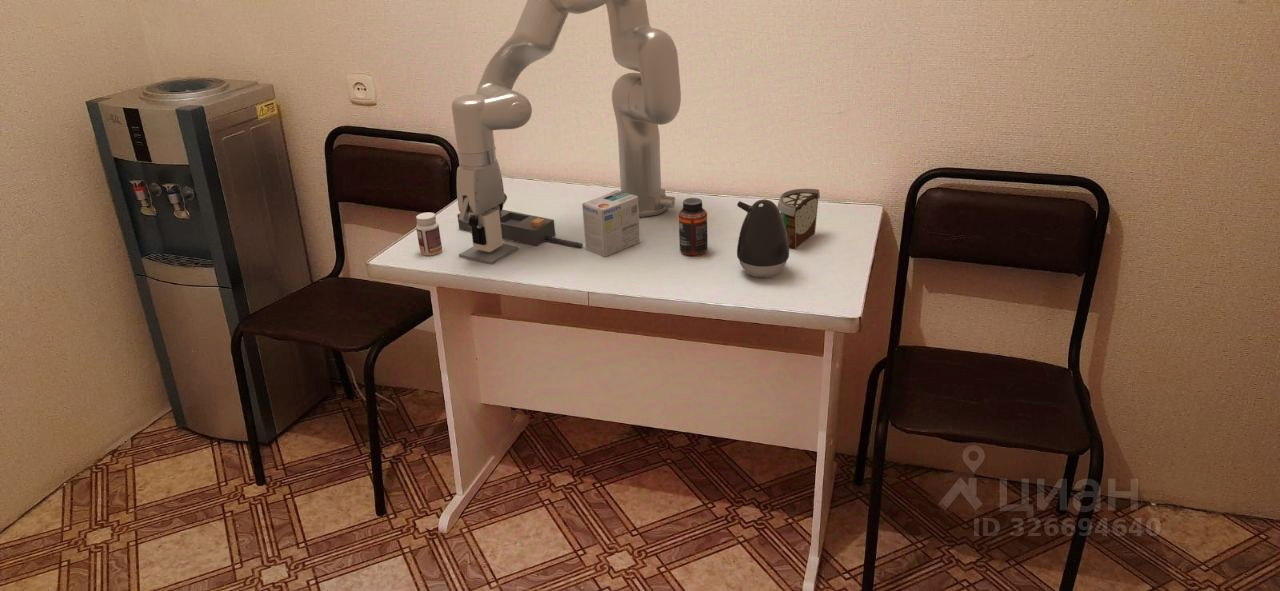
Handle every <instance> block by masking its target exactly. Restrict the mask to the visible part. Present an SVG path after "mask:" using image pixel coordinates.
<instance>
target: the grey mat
mask: <svg viewBox="0 0 1280 591" xmlns="http://www.w3.org/2000/svg"><path fill="white" fill-rule="evenodd" d="M518 250H519V246H517V245H514V244H509V243H504V242H503V245H502V246H500V247H498V248H496V249H495V250H493V251H491V252H487V251H482V250H478V249H474V246H473V245H472V246H471V247H469V248H468V249H466V250H464V251H462V252H461V253H459V254H458V257H459V258H461V259H466V260H471V261H475V262H479V263H483V264H488V265H494V264H496V263H497V262H499V261H501V260H503V259H504V258H506V257H507V256H509V255H511V254H513V253H515V252H516V251H518Z"/></svg>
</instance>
